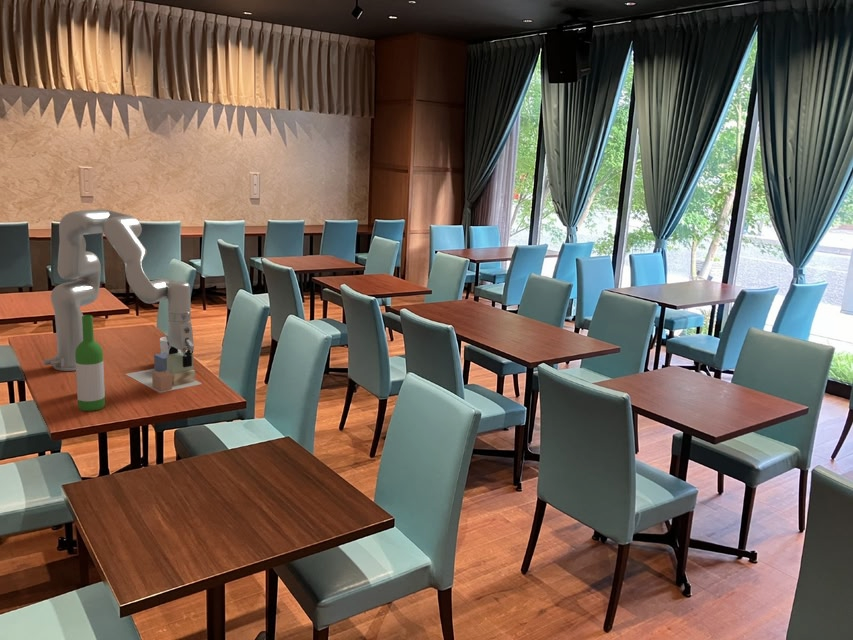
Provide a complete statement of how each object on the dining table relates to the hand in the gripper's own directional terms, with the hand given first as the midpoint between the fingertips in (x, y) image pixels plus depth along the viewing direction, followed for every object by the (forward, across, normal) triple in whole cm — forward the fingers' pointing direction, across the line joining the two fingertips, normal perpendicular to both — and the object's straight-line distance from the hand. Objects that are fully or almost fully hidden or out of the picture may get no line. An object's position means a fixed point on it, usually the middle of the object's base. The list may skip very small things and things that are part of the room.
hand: (180, 363), depth 245 cm
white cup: (+7, +22, -8) cm, 24 cm away
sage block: (+3, 0, 0) cm, 3 cm away
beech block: (+7, 0, 0) cm, 7 cm away
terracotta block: (+7, -3, +8) cm, 11 cm away
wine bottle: (+7, -7, +34) cm, 35 cm away
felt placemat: (+7, +6, +4) cm, 10 cm away
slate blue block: (+7, +14, -1) cm, 16 cm away
